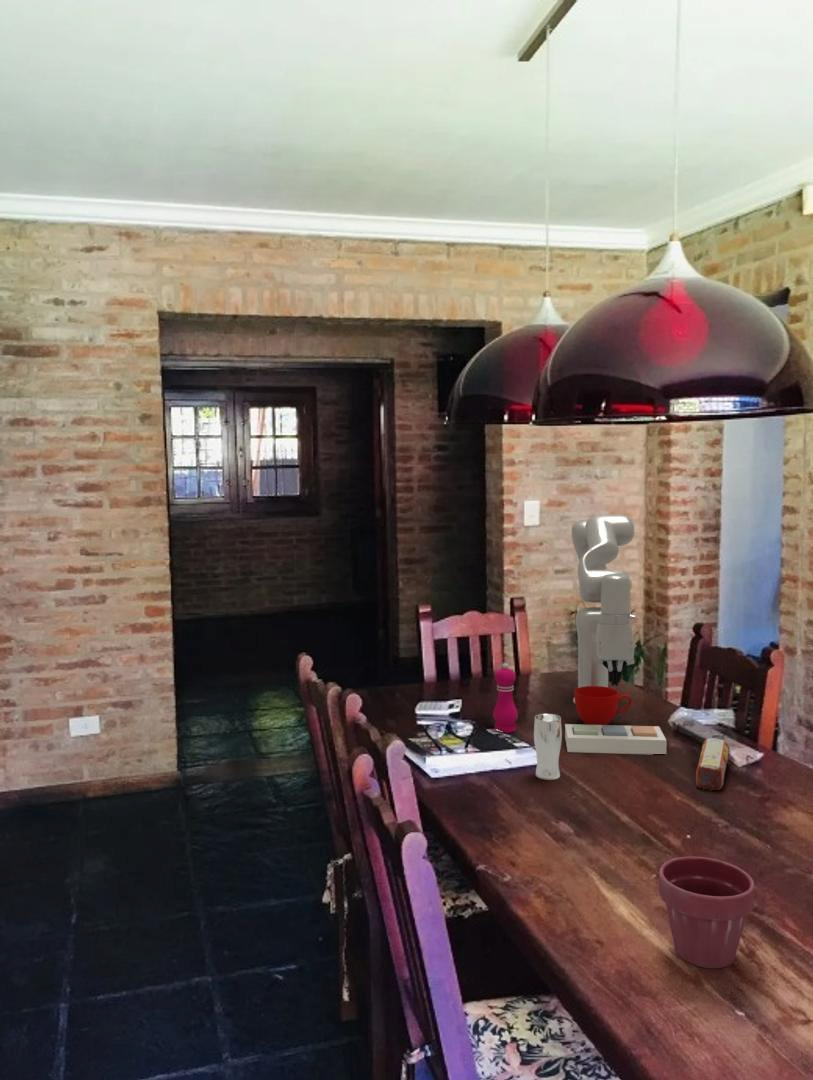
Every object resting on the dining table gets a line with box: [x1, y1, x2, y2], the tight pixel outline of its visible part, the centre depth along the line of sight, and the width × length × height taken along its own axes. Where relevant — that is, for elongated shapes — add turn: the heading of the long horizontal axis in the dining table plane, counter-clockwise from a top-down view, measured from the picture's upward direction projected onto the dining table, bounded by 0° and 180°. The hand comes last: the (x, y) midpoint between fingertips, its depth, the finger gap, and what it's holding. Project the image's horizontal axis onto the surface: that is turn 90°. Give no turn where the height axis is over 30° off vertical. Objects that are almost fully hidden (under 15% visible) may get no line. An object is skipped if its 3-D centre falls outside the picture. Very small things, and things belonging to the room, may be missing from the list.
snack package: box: [695, 737, 730, 791], centre depth 209 cm, size 21×7×7 cm, turn 155°
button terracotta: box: [630, 725, 657, 737], centre depth 231 cm, size 6×6×2 cm
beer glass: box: [533, 713, 563, 781], centre depth 210 cm, size 7×7×15 cm
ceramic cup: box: [573, 686, 632, 725], centre depth 252 cm, size 13×17×10 cm
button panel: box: [564, 723, 667, 755], centre depth 232 cm, size 12×26×4 cm, turn 83°
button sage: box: [572, 723, 597, 735], centre depth 233 cm, size 6×6×2 cm
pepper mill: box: [492, 662, 519, 734], centre depth 247 cm, size 7×7×20 cm
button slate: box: [602, 724, 627, 736], centre depth 232 cm, size 6×6×2 cm
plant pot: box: [658, 856, 755, 969], centre depth 134 cm, size 14×14×13 cm
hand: (614, 684), depth 232 cm, fingers closed
